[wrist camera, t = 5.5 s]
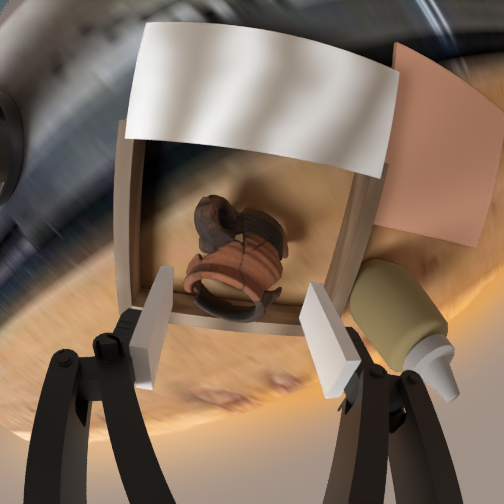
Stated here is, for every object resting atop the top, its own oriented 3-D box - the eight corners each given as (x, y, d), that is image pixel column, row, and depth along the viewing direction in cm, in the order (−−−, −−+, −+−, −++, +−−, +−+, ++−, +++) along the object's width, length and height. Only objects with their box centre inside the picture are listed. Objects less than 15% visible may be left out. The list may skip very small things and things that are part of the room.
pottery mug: (306, 260, 29) (291, 329, 24) (230, 268, 34) (205, 327, 28) (259, 160, 22) (224, 224, 17) (175, 187, 27) (130, 245, 21)
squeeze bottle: (388, 307, 33) (459, 414, 16) (331, 309, 32) (390, 439, 16) (406, 250, 29) (507, 348, 13) (347, 247, 29) (443, 370, 12)
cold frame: (129, 296, 30) (117, 319, 26) (149, 37, 19) (134, 23, 15) (324, 318, 33) (334, 342, 29) (385, 81, 22) (408, 76, 18)
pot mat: (360, 220, 28) (363, 222, 27) (394, 43, 20) (396, 41, 19) (473, 246, 30) (476, 248, 30) (503, 113, 22) (506, 114, 22)
